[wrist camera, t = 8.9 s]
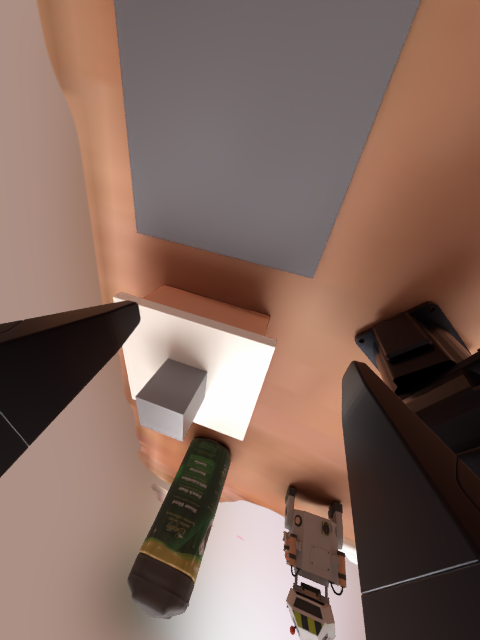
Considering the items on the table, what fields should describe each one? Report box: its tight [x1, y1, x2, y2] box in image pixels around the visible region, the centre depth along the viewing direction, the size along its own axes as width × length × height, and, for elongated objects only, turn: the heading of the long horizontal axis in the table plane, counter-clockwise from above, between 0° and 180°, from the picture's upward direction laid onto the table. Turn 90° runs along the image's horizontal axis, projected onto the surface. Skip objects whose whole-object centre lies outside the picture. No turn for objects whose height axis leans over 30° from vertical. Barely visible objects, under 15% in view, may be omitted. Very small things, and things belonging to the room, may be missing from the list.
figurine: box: [283, 487, 346, 640], centre depth 33 cm, size 9×12×15 cm
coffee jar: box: [128, 438, 230, 619], centre depth 32 cm, size 10×8×19 cm
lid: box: [113, 292, 277, 442], centre depth 19 cm, size 14×14×6 cm
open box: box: [143, 285, 270, 336], centre depth 23 cm, size 12×12×5 cm
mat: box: [114, 0, 421, 278], centre depth 14 cm, size 17×20×1 cm
